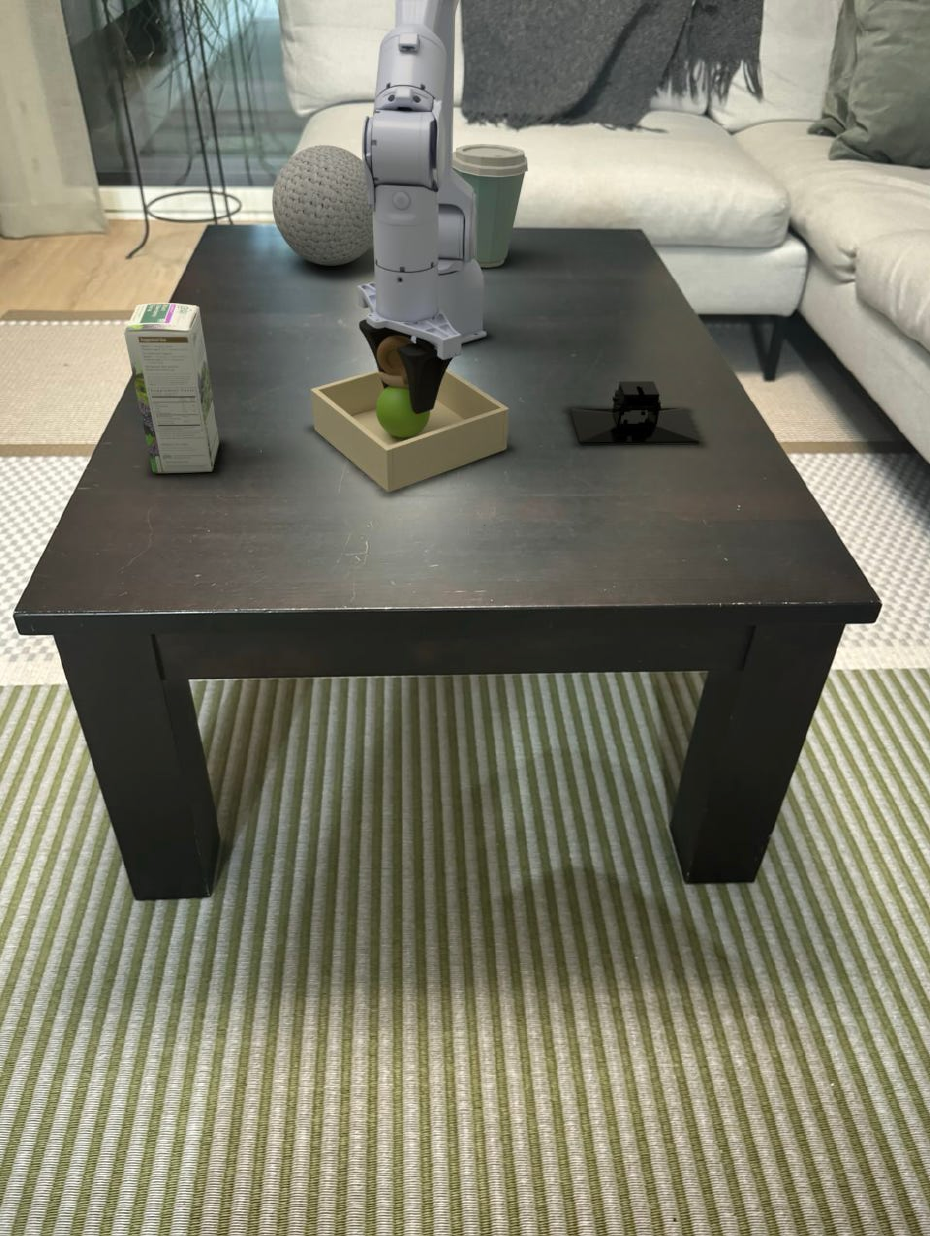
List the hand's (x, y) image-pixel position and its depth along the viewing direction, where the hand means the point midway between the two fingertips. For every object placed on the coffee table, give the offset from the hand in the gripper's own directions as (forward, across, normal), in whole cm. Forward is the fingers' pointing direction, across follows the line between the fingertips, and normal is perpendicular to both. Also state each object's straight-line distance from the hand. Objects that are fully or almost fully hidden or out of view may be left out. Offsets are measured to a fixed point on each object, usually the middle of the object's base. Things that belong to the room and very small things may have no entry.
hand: (408, 399), depth 91 cm
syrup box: (+5, -9, -20) cm, 22 cm away
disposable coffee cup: (+5, -36, +37) cm, 52 cm away
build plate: (+5, +11, +21) cm, 24 cm away
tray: (+4, 0, 0) cm, 4 cm away
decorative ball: (+5, -47, +18) cm, 51 cm away
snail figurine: (+4, 0, 0) cm, 4 cm away
